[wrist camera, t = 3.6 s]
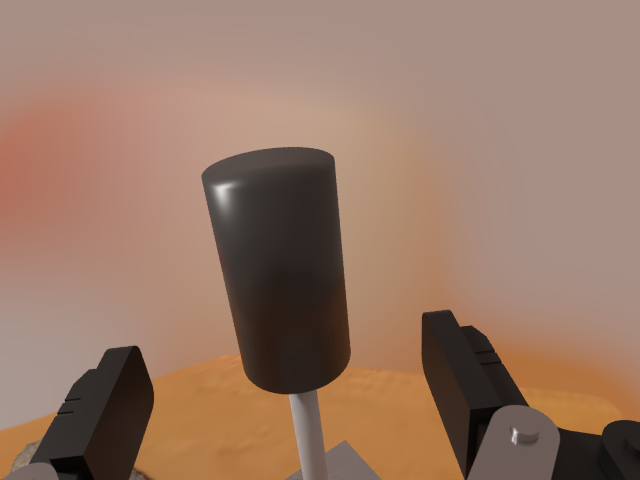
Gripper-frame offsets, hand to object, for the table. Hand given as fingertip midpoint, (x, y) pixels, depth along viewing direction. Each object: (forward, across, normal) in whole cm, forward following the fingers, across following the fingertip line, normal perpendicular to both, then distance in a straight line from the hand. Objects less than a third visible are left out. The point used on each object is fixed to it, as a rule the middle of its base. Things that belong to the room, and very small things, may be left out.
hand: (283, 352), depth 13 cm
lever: (+4, 0, +21) cm, 22 cm away
